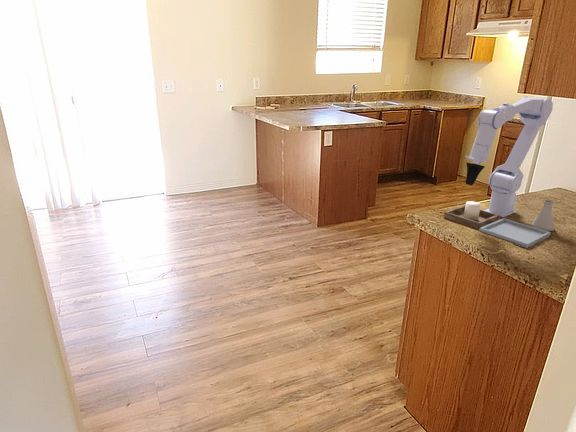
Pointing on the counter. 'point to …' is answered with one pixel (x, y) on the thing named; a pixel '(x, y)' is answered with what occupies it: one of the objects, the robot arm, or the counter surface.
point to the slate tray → (515, 232)
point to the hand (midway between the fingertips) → (469, 184)
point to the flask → (545, 217)
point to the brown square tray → (458, 217)
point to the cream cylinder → (472, 210)
